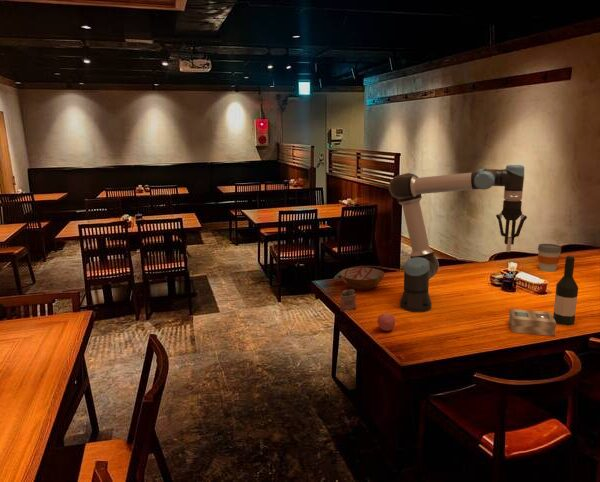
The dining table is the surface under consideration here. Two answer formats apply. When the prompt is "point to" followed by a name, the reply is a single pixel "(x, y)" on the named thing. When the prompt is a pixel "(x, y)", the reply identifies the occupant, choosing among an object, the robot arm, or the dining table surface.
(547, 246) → the reusable coffee cup
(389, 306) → the dining table surface
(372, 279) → the bowl
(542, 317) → the steel peg
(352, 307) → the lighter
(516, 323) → the socket block
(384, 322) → the apple
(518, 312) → the teal peg
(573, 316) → the wine bottle
